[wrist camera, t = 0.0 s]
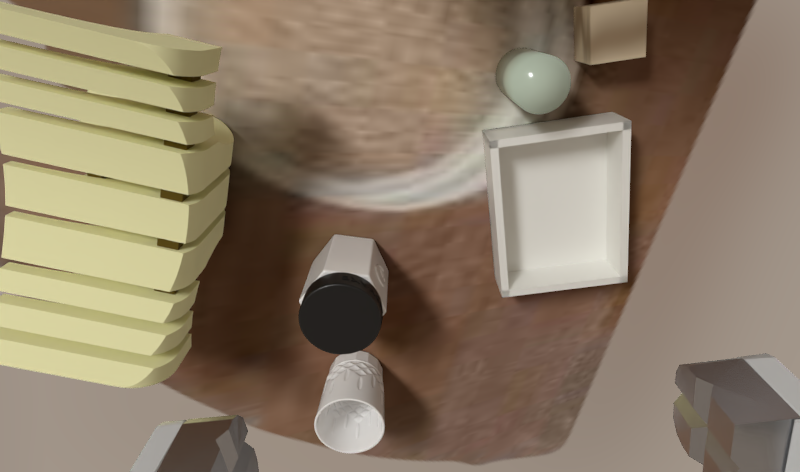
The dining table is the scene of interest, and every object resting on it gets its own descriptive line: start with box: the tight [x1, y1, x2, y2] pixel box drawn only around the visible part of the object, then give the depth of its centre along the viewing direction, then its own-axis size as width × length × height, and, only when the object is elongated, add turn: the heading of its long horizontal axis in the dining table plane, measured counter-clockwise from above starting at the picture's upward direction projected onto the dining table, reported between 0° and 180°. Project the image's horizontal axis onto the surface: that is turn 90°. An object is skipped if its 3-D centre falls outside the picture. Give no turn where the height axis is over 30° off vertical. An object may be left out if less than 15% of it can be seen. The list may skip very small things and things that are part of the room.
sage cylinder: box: [496, 48, 571, 114], centre depth 49 cm, size 5×5×9 cm
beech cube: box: [574, 0, 648, 65], centre depth 50 cm, size 5×5×5 cm
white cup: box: [314, 351, 385, 453], centre depth 63 cm, size 8×8×10 cm
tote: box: [482, 112, 631, 298], centre depth 56 cm, size 18×14×5 cm
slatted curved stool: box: [0, 2, 234, 388], centre depth 49 cm, size 30×16×18 cm, turn 166°
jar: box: [299, 234, 389, 354], centre depth 57 cm, size 9×8×12 cm
